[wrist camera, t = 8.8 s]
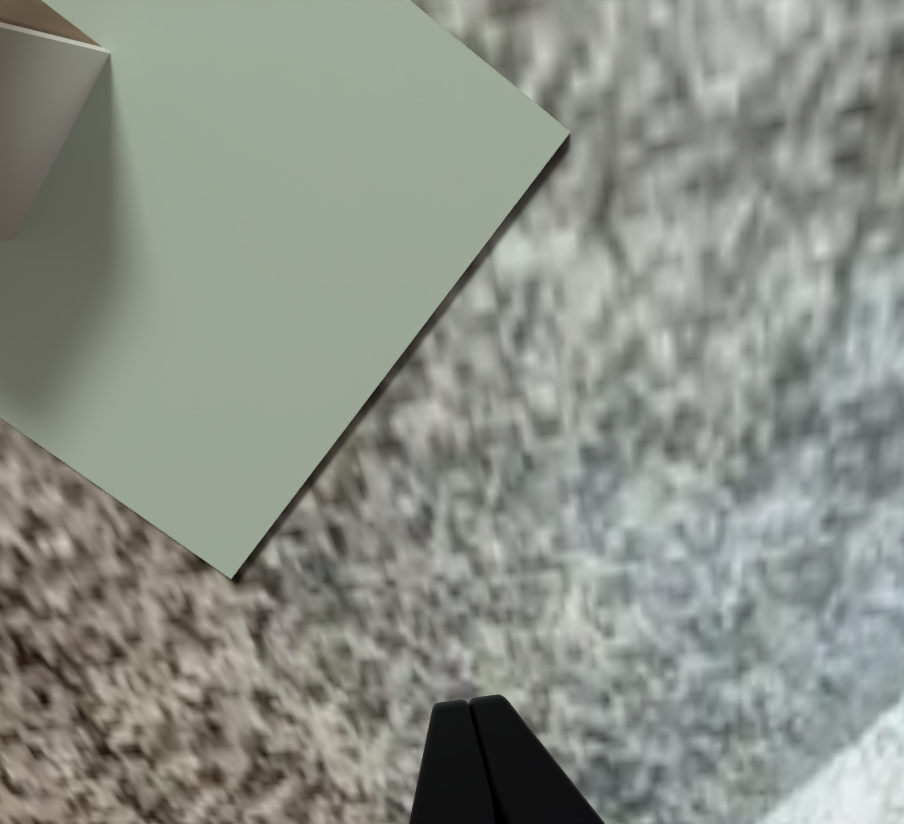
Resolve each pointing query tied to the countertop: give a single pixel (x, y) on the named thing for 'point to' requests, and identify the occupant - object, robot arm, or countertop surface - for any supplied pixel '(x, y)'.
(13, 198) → the block
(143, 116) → the mat
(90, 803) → the countertop surface
